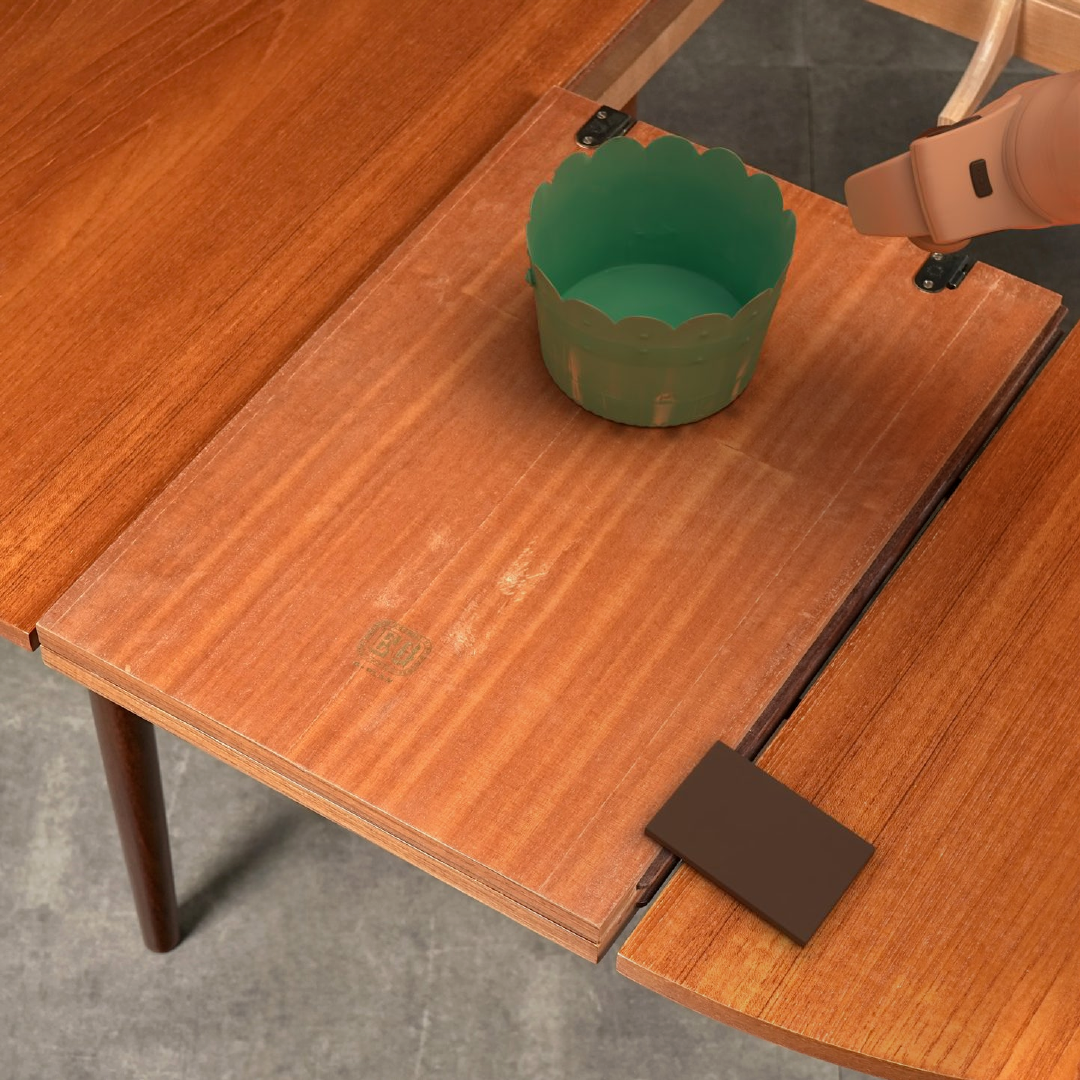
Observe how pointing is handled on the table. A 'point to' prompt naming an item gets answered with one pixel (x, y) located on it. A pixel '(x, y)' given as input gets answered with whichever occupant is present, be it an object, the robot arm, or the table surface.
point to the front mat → (760, 842)
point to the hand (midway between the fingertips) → (945, 168)
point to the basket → (656, 277)
